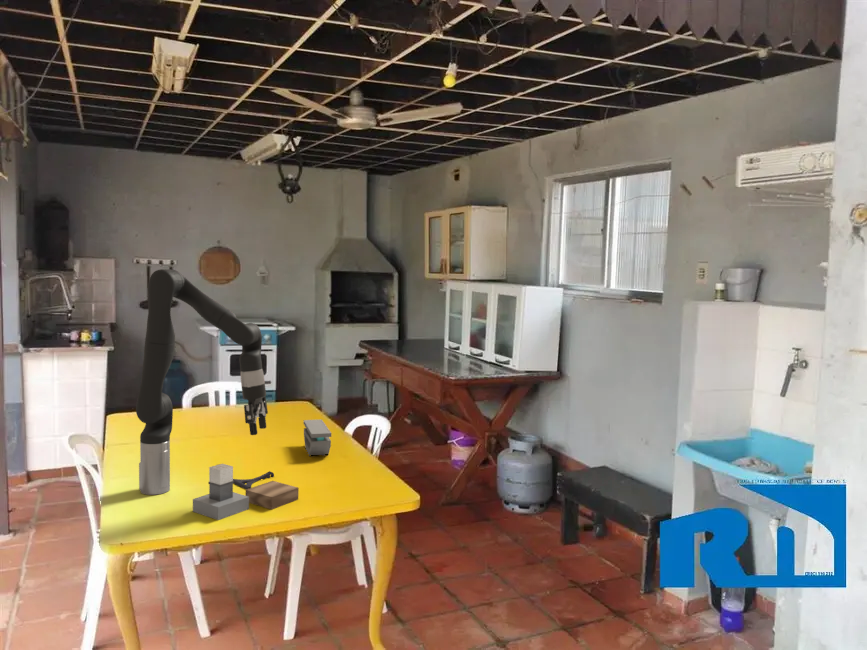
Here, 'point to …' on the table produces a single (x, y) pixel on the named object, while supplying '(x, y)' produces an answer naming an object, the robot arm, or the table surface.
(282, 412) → the table surface
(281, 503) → the stand
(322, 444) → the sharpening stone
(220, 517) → the stand
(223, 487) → the block
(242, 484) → the bracket
